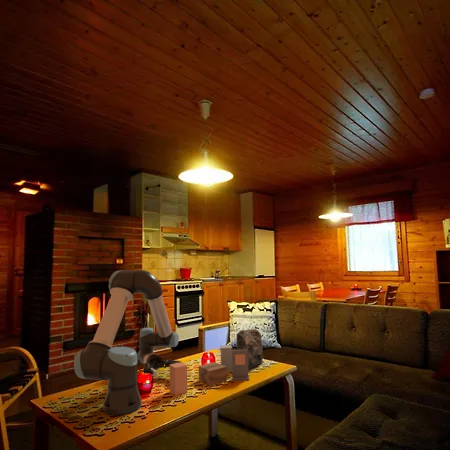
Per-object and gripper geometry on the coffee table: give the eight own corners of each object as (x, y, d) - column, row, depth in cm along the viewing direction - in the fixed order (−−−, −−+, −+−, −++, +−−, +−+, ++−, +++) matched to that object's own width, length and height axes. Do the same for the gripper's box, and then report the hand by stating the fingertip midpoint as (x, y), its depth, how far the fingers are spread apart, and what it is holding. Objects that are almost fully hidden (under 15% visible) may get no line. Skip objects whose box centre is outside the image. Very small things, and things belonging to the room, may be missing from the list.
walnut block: (198, 380, 173) (198, 366, 173) (215, 376, 179) (214, 362, 179) (210, 386, 165) (209, 370, 165) (226, 381, 171) (226, 366, 171)
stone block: (244, 371, 185) (243, 333, 187) (233, 367, 191) (232, 330, 193) (267, 364, 196) (266, 328, 198) (256, 360, 203) (255, 326, 205)
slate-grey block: (221, 371, 186) (220, 348, 187) (220, 367, 192) (220, 345, 193) (232, 370, 186) (231, 347, 187) (231, 367, 192) (231, 345, 193)
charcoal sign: (233, 380, 170) (232, 351, 172) (232, 378, 174) (231, 349, 176) (249, 380, 171) (248, 351, 172) (248, 377, 175) (247, 349, 176)
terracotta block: (169, 391, 159) (169, 364, 160) (181, 388, 162) (181, 362, 163) (175, 395, 154) (175, 367, 155) (187, 392, 157) (187, 365, 158)
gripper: (174, 364, 191) (192, 374, 173) (130, 373, 177) (144, 385, 159) (174, 350, 191) (192, 358, 174) (130, 358, 178) (144, 368, 160)
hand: (169, 371), depth 167 cm, fingers open, 13 cm apart
